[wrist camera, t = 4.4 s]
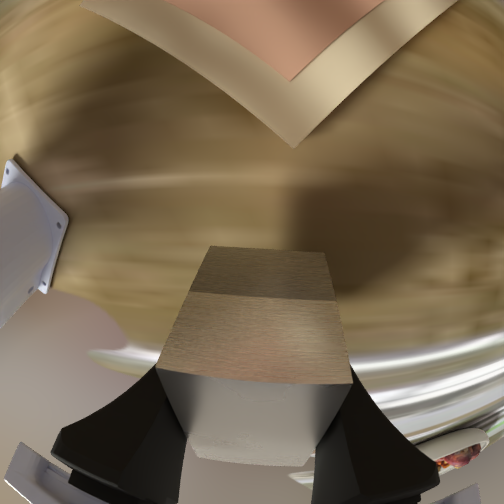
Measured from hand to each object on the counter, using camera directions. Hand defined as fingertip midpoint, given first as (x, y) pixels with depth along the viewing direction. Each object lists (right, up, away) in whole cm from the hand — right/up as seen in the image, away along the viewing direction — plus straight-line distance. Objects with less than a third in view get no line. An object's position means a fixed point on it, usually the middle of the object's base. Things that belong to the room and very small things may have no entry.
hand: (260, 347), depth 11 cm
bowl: (+34, -37, +24) cm, 56 cm away
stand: (+1, +18, -3) cm, 18 cm away
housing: (0, +1, +2) cm, 2 cm away
